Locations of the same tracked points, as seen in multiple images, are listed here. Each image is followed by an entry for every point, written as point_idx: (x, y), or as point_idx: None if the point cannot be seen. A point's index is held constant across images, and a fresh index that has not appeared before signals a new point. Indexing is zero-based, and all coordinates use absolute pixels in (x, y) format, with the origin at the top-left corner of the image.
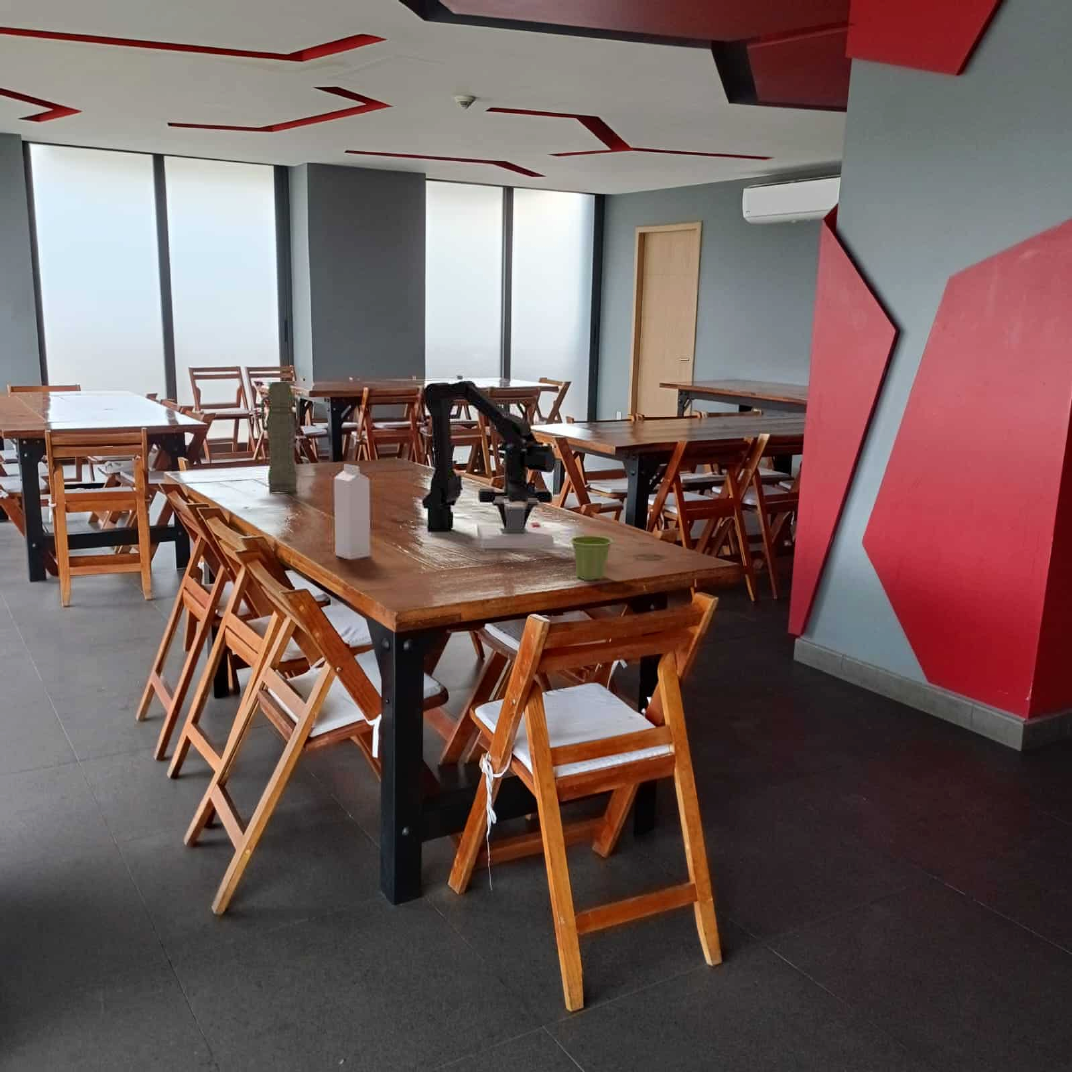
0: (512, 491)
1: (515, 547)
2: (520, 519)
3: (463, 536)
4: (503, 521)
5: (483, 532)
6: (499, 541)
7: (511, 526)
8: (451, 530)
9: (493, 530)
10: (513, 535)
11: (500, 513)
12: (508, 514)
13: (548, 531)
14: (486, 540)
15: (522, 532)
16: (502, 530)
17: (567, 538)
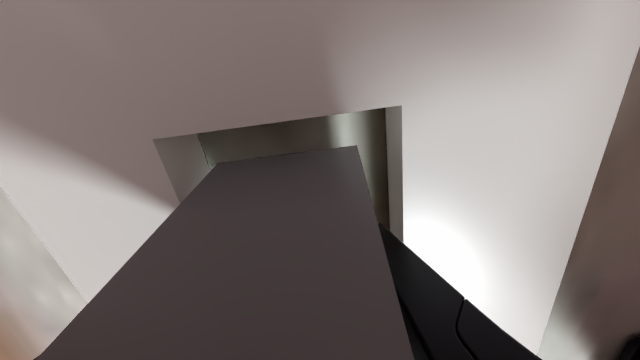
0: None
1: None
2: (181, 249)
3: (602, 256)
4: (409, 257)
5: (575, 149)
6: None
7: (312, 187)
8: (632, 342)
9: (462, 229)
10: (288, 42)
11: (516, 341)
12: (365, 296)
13: (40, 238)
14: None
15: (218, 171)
16: None
17: (20, 262)
